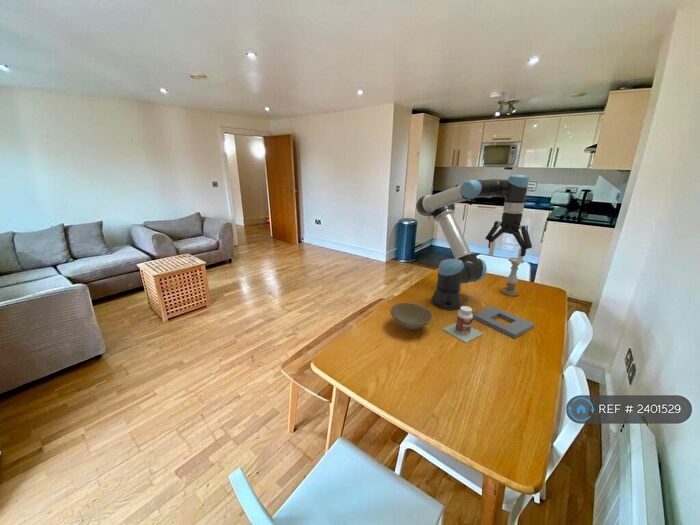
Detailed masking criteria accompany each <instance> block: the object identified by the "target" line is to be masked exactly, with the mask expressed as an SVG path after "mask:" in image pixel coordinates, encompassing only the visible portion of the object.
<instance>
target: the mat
mask: <svg viewBox="0 0 700 525" xmlns="http://www.w3.org/2000/svg"><path fill="white" fill-rule="evenodd" d="M455 328H456V322H455V323H452V324H450V325H449V326H446V327H444V328H442V330H443V331H444V332H446V333H447V334H450V335H451V336H453V337H454V338H456V339H458V340H460V341H462V342H463V343H464V344H467V343H469V342H471V341H473V340H475V339H477V338H479V337H481V336H483V335H484V332H481V331H480V330H478V329H476V328H473V327H472V326H471V331H470V333H469V334H460V333H458V332H457V331H456V329H455Z"/></svg>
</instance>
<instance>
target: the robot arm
mask: <svg viewBox="0 0 700 525" xmlns="http://www.w3.org/2000/svg"><path fill="white" fill-rule="evenodd" d="M529 181H530V178H529V175H526V174H511V175H509V176H508V179H499V178H498V179H497V178H489V179H468V180H465V181H463V183H461V184H459V185H457V186H454V187H452V188H449V189H447V190H446V189H445V190H443V191H440V192H438V193H434V194H426V195H422V196H421V197H419V198H418V199H417V202H416V204H415V206H416V207H415V209H416V211H417V212H418V214H420V215H422V216H423V217H433V220H435V222H437V223H438V224H439V226H440V228H441V230H442V232H443V235H444V237H445V240H446V241H447V243H448V246H449V248H450V250H451V252H452V254H453V256H454V258H446V259H442V260H441V261H440V263H438V269H437V280H436V287H435V290H434V292H433V294H432V295H431V296H432V297H431V303H433V304H434V305H433V304H432V305H433V306H435V307H437V308H439V309H443V310H446V311H452V310H453V311H455V310H458V309H459V310H460V307H461V306H463V301H462V300H463V299H462V297H461V285H462V284H469V283H474V282H477V281H478V282H479V281H481V280H482V279H484V278H485V276H486V275H487V271H488V270H487V264H486V262H485V261H484V260H483V259H482V258H480V257H477V255H476V253H475V252H473V251H471V249H470V247H469V245H468V244H467V241H466V238H465V237H464V235H463V233H462V230H461V228H460V226H459V225H458V223H457V221H456V218H455V216H454V214H455V210H456V204H458V203H462V202H466V201H469V200H473V199H476V198H478V199H479V198H490V197H491V198H494V197H495V198H496V197H498V198H504V203H503V210H502V211H503V212H502V214H501V221H500V220H495V221H494V223H493V226H492V228H491V229H490V230H489V232H488V233H487V235H486V236H485V240H487V241H488V246H487V247H488V256H490V257H491V256H494V254H495V247H496V240H497V239H498V238H499V237H501V236H502V235H503V234H508V235H512V236H514V238H515V240H516V242H517V243H518V245H519V247H520V248H519V249H518V253H517V257H516V258H517V264H519V263H520V264H523V263H522V259H523V258H524V257H525V256H526V252H527V250H529V249H532V248H533V244H532V242H531V238H530V234H529V230H528V228H529V226H528V225H521V223H522V218H523V212H524V207H525V202H526V201H525V200H526V197H527V192H528V188H529ZM499 227H500V229H499ZM498 229H499V230H498ZM497 230H498V231H497ZM520 231H521V232H520ZM523 260H524V259H523Z"/></svg>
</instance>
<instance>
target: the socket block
mask: <svg viewBox="0 0 700 525" xmlns="http://www.w3.org/2000/svg"><path fill="white" fill-rule="evenodd" d="M472 315H473V319H472V320H475V321H477V322H479V323H481V324H483V325H485V326H487V327H490V328H492V329H494V330H496V331H498V332H500V333H502V334H504V335H506V336H508V337H510V338H512V339H513V340H515V339H517V338H519V337H520V336H522V335H524V334H525V333H527V332H529V331H530V330H532V329H534V328H535V324H536V323H535V322H532V321H529V320H526V319H524V318H522V317H521V316H517V315H515V314H512V313H510V312H507V310H506V311H505V310H503V309H501V308H499V307H496V306H493V305H491V306H489V307H487V308H485V309H484V308H483V309H482V310H480V311H478V312H476V313H472ZM497 318H501V319H504V320H505V321H508V322H510V323H509V324H504V323H502V322H500V321H498V320H496V319H497Z"/></svg>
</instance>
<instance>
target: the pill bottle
mask: <svg viewBox="0 0 700 525" xmlns="http://www.w3.org/2000/svg"><path fill="white" fill-rule="evenodd" d="M472 311H473V309H472V307H470V306H468V305H467V306H466V305H462V306H461V307H460V308H459V311H458V312H457V314H456V322H455V323H456V328H455V329H456V331H457V332H458V333H460V334H469V333H470V331H471V327H472V324H473V320H474V319H473V313H472Z"/></svg>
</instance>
